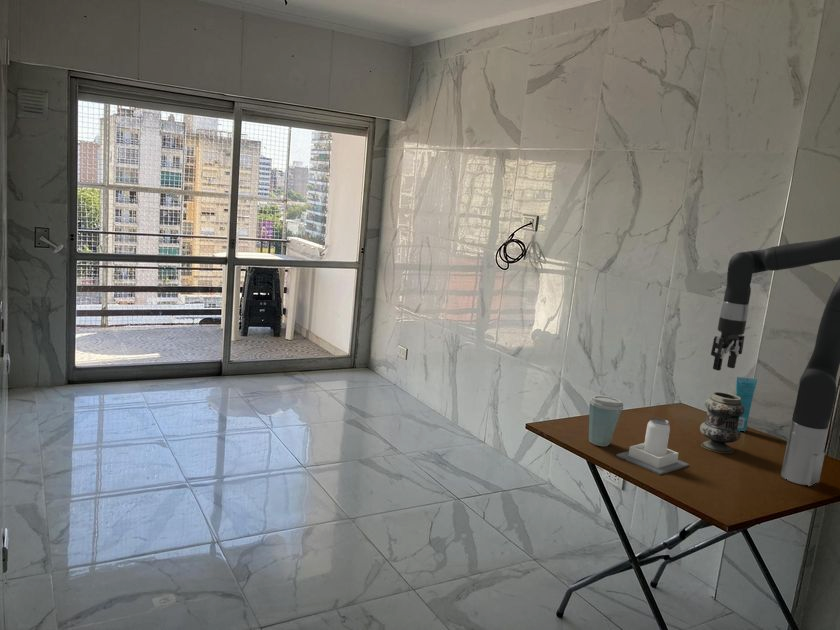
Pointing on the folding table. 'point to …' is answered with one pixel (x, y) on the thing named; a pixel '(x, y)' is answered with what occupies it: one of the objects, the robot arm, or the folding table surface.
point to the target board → (653, 459)
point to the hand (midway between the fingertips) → (723, 368)
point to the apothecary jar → (721, 422)
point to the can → (657, 437)
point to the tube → (745, 398)
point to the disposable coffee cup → (603, 419)
